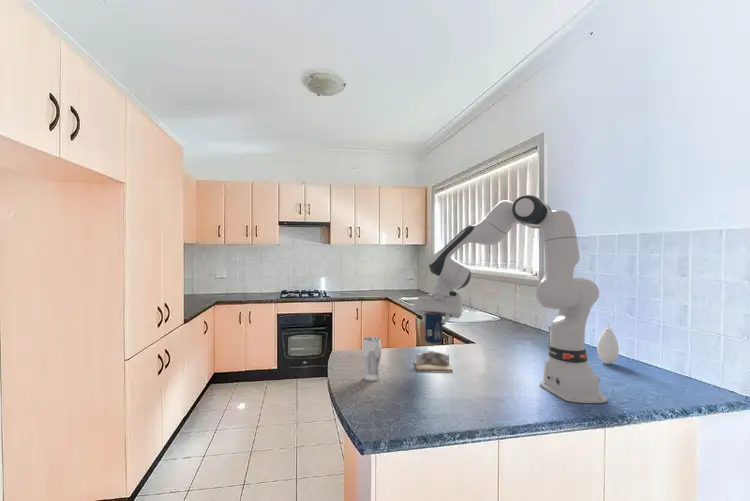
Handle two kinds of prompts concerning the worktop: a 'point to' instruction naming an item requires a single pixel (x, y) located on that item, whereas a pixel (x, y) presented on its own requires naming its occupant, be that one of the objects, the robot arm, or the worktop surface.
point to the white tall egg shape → (607, 346)
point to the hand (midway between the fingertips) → (433, 323)
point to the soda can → (433, 328)
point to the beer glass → (371, 358)
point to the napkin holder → (433, 362)
